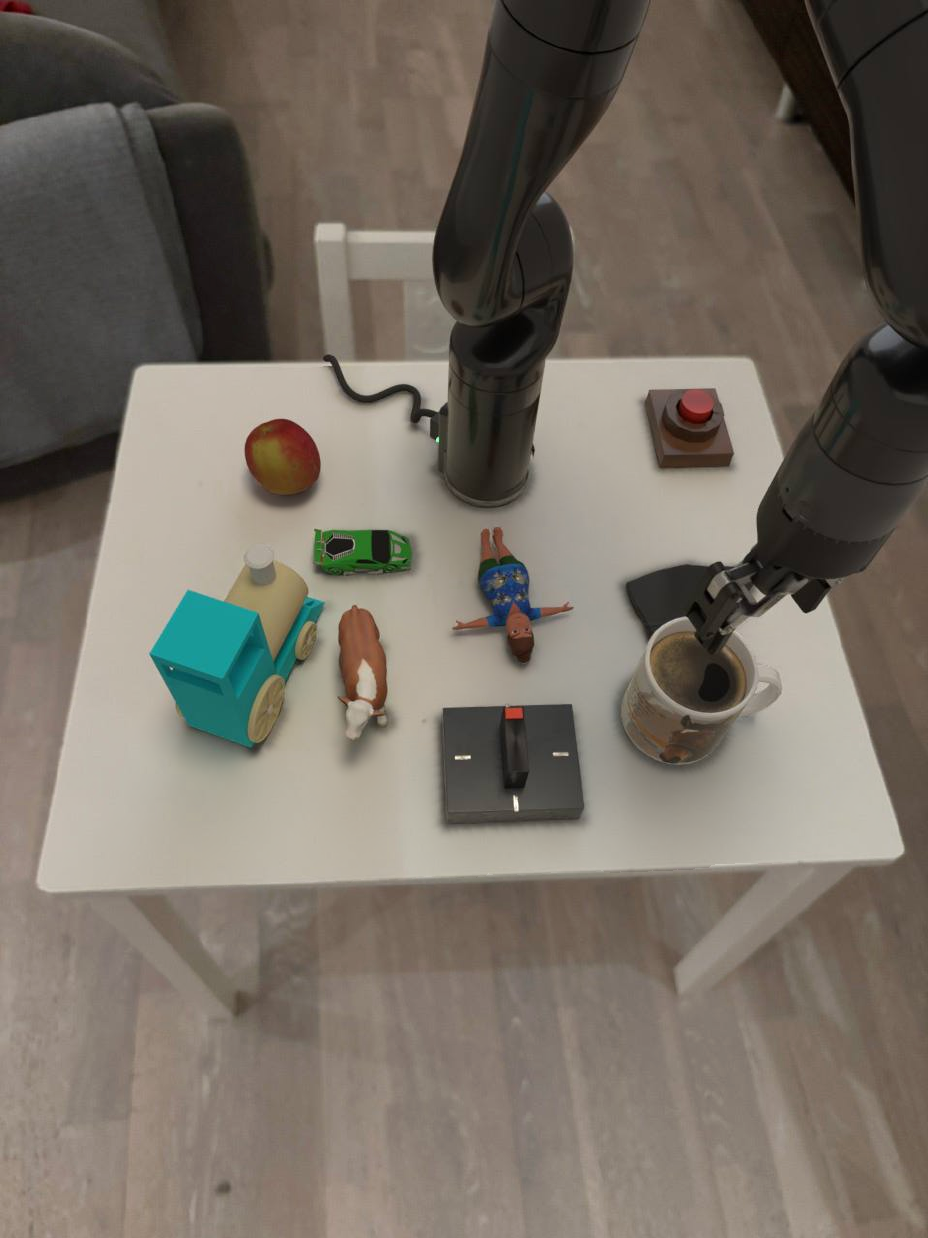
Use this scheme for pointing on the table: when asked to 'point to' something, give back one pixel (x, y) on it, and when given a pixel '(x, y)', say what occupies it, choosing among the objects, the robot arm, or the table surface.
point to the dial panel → (480, 768)
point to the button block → (687, 432)
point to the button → (696, 406)
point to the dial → (514, 747)
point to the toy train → (238, 649)
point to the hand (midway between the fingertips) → (754, 623)
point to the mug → (692, 693)
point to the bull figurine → (362, 670)
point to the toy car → (361, 551)
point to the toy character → (508, 597)
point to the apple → (282, 457)
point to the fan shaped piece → (667, 593)
